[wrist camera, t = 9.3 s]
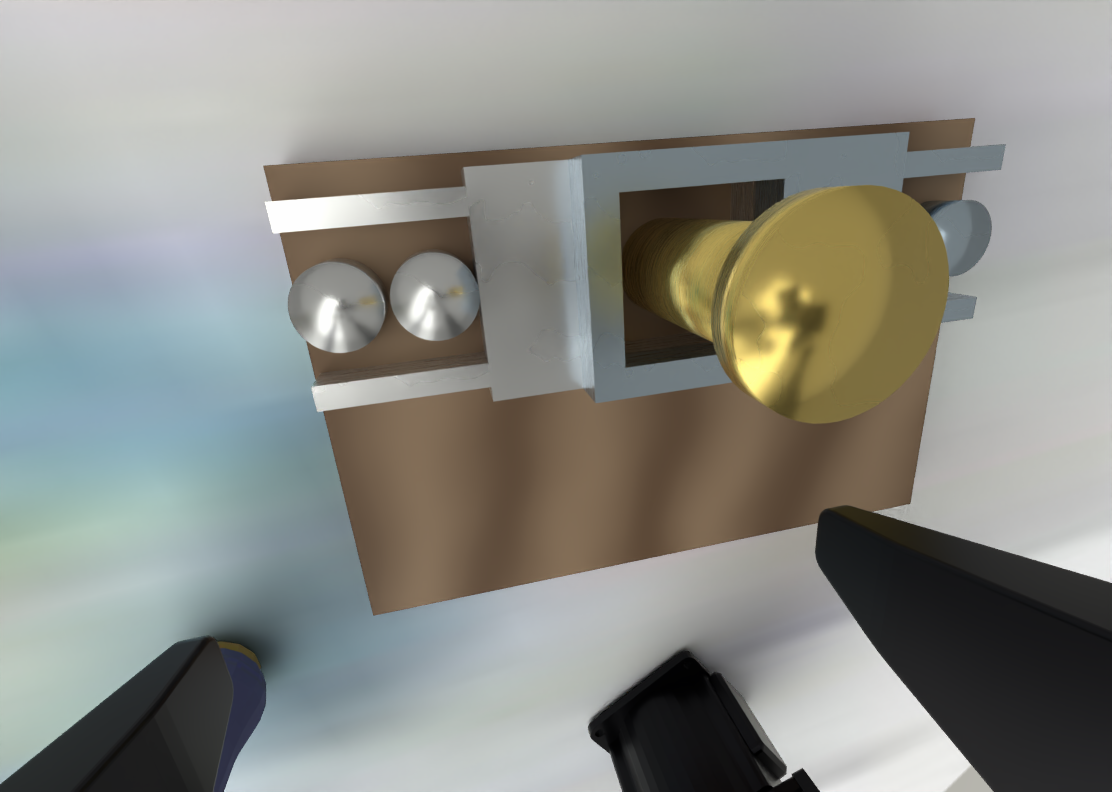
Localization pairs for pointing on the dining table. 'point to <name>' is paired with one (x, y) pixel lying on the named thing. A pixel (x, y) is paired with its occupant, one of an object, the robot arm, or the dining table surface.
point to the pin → (802, 295)
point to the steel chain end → (459, 288)
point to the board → (579, 413)
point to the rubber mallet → (240, 705)
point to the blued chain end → (776, 179)
